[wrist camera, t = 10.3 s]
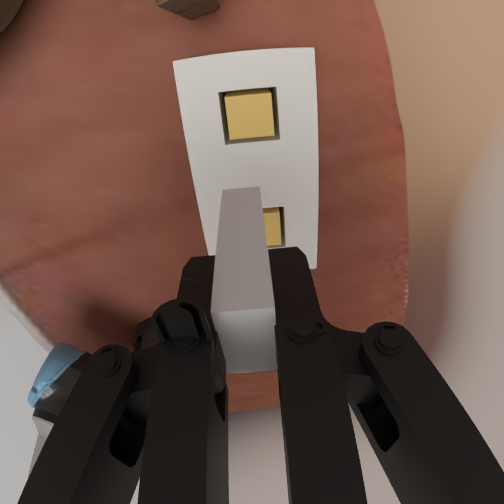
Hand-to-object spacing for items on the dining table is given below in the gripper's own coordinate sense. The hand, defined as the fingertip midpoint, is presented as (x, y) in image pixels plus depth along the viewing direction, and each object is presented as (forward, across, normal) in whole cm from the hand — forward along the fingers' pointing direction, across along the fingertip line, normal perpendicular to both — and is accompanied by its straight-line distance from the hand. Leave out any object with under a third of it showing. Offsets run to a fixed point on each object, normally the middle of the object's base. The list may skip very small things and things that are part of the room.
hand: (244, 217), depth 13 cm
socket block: (+25, -1, +5) cm, 25 cm away
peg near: (+25, -1, -1) cm, 25 cm away
